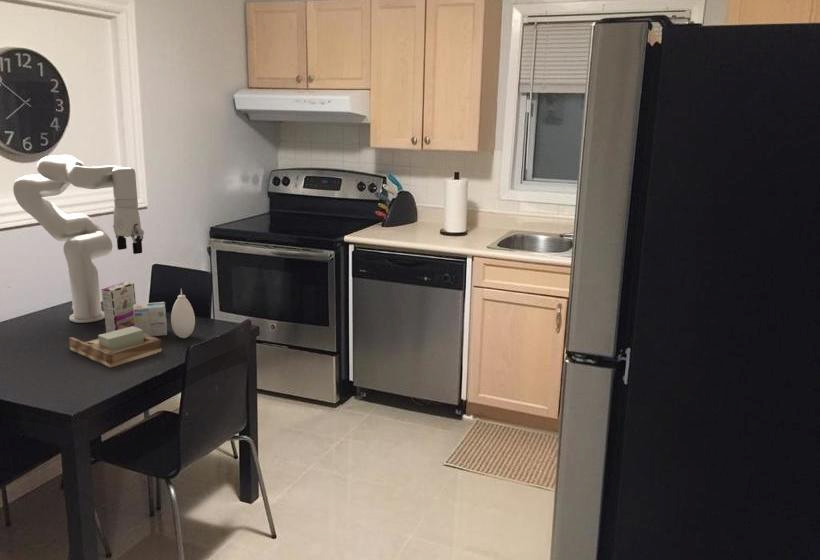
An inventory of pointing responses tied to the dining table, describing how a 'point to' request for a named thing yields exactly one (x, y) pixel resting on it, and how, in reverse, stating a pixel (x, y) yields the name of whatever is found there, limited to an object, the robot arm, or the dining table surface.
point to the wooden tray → (117, 356)
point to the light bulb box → (151, 318)
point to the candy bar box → (118, 305)
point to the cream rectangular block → (121, 338)
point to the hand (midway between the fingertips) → (129, 251)
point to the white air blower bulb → (182, 317)
